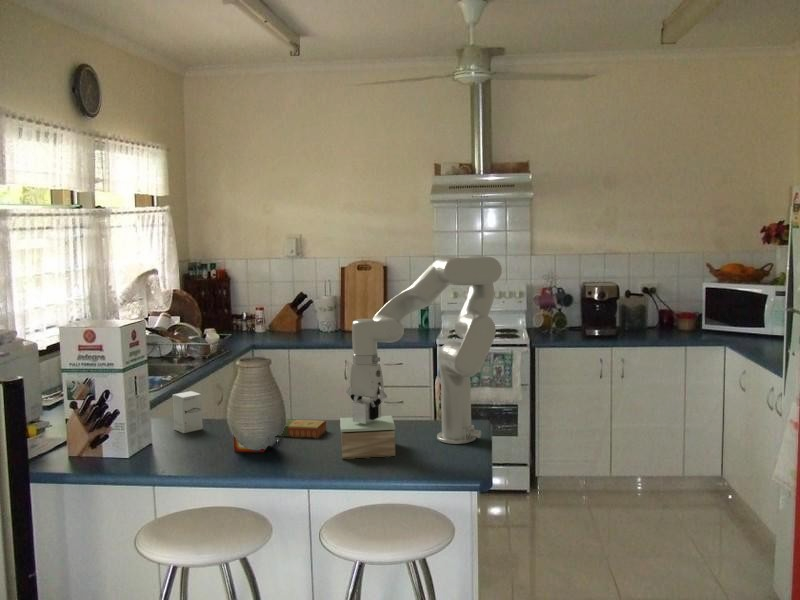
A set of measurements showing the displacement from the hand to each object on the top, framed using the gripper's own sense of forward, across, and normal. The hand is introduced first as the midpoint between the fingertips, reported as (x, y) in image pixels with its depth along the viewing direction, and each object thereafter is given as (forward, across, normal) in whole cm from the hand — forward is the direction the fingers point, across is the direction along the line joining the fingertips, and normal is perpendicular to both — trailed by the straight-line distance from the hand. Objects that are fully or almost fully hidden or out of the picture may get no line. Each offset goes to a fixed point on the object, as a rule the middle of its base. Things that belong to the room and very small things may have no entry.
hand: (367, 416), depth 241 cm
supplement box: (+11, +68, +13) cm, 70 cm away
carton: (+11, +31, -3) cm, 33 cm away
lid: (+3, 0, 0) cm, 3 cm away
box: (+11, 0, 0) cm, 11 cm away
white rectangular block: (+1, 0, 0) cm, 1 cm away
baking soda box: (+11, +33, +17) cm, 39 cm away
